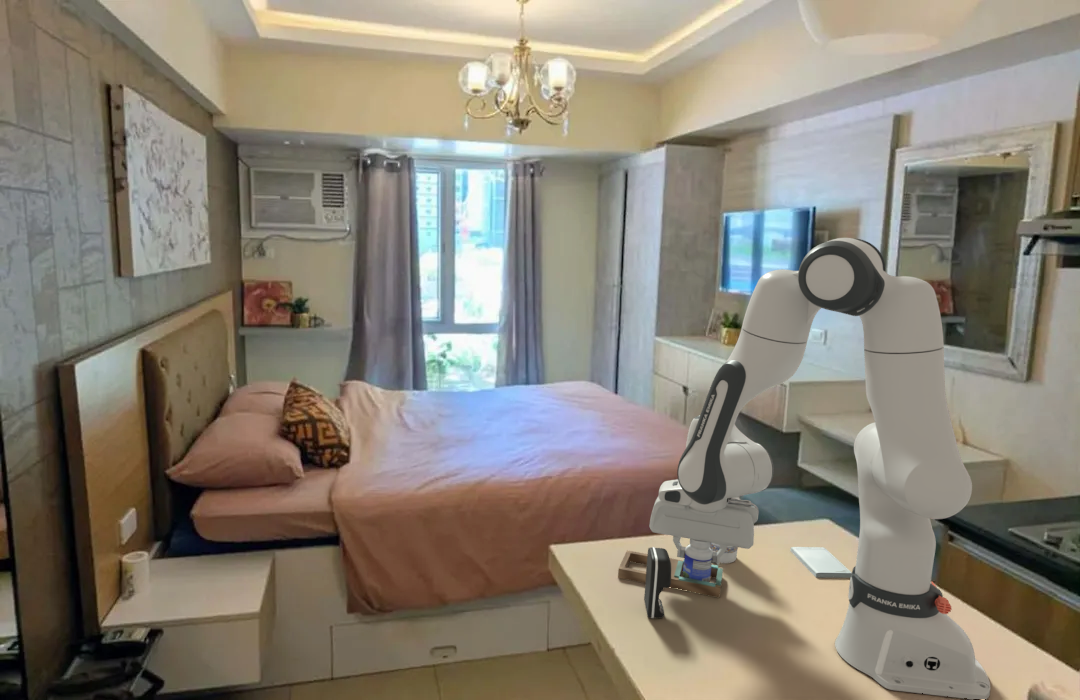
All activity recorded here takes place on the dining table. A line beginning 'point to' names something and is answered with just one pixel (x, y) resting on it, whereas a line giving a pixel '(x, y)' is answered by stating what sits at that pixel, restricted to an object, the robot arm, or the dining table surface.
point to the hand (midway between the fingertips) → (698, 559)
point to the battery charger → (656, 580)
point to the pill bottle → (698, 560)
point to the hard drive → (821, 562)
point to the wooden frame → (676, 573)
